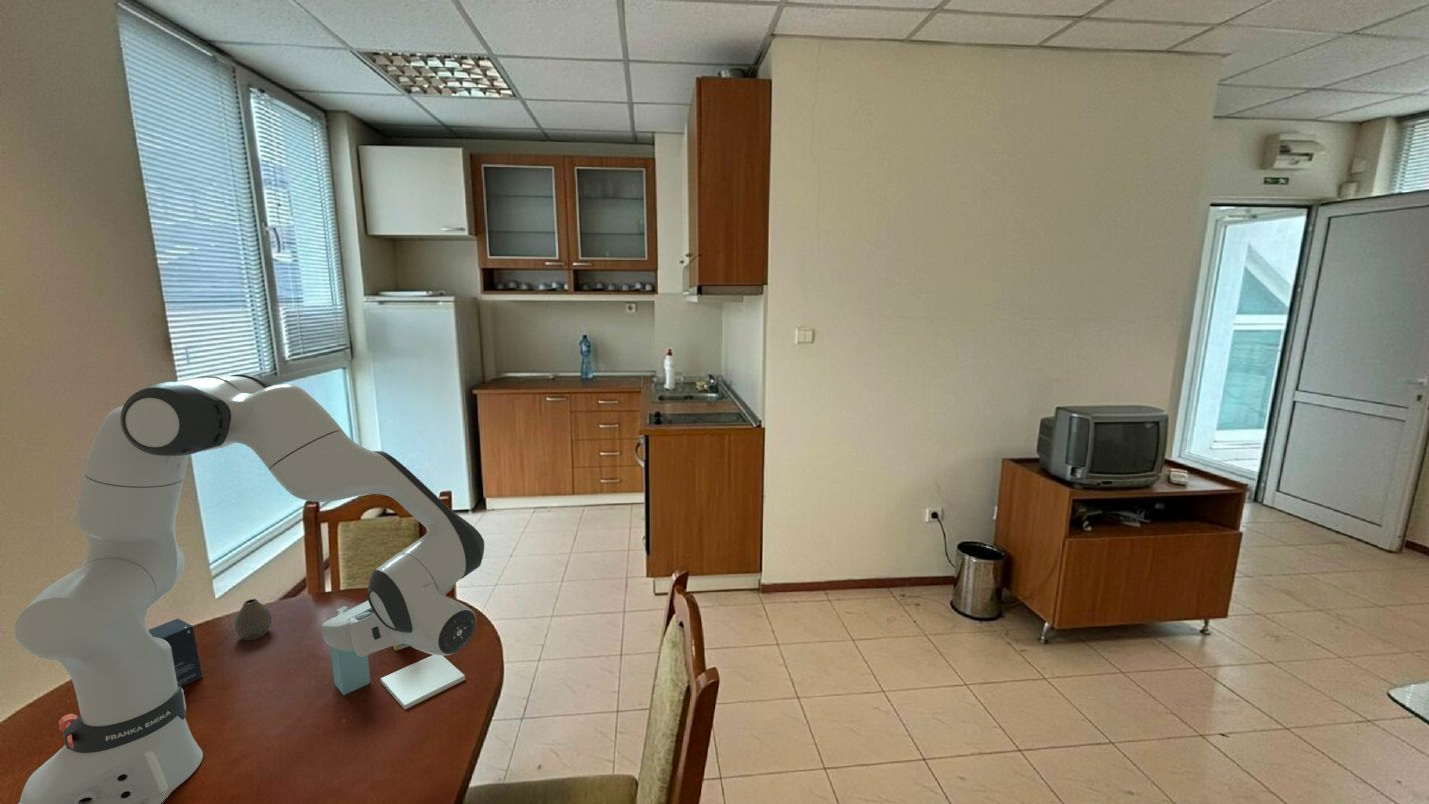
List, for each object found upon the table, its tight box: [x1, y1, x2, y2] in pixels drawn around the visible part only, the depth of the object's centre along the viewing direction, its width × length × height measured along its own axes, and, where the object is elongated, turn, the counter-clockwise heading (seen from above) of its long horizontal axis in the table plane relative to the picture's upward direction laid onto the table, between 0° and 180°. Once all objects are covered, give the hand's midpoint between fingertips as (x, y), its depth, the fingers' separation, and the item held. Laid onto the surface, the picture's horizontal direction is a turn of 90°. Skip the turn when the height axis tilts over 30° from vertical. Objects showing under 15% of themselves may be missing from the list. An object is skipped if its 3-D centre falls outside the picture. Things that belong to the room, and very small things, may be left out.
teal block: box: [330, 646, 371, 696], centre depth 119 cm, size 5×5×14 cm
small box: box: [148, 618, 204, 688], centre depth 116 cm, size 13×7×12 cm, turn 154°
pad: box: [380, 654, 466, 710], centre depth 121 cm, size 12×12×1 cm
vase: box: [233, 598, 273, 641], centre depth 135 cm, size 7×7×9 cm
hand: (367, 598), depth 109 cm, fingers open, 8 cm apart
